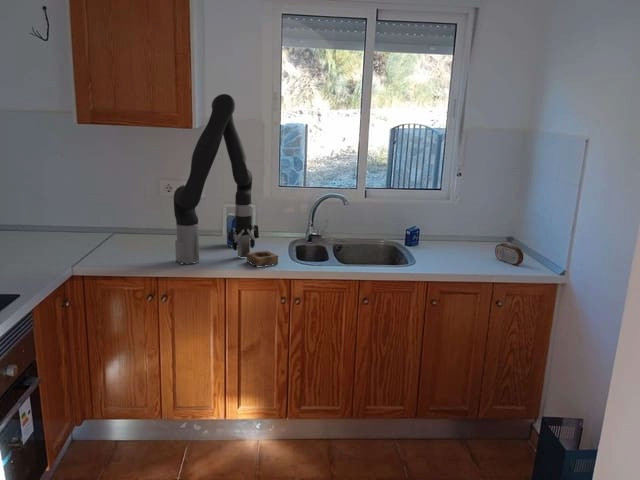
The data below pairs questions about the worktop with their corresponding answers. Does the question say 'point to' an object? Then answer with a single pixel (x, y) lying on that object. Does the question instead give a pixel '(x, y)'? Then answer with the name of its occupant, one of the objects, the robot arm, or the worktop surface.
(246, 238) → the peg
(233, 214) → the beer can
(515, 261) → the tin
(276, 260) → the wooden square frame
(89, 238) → the worktop surface
